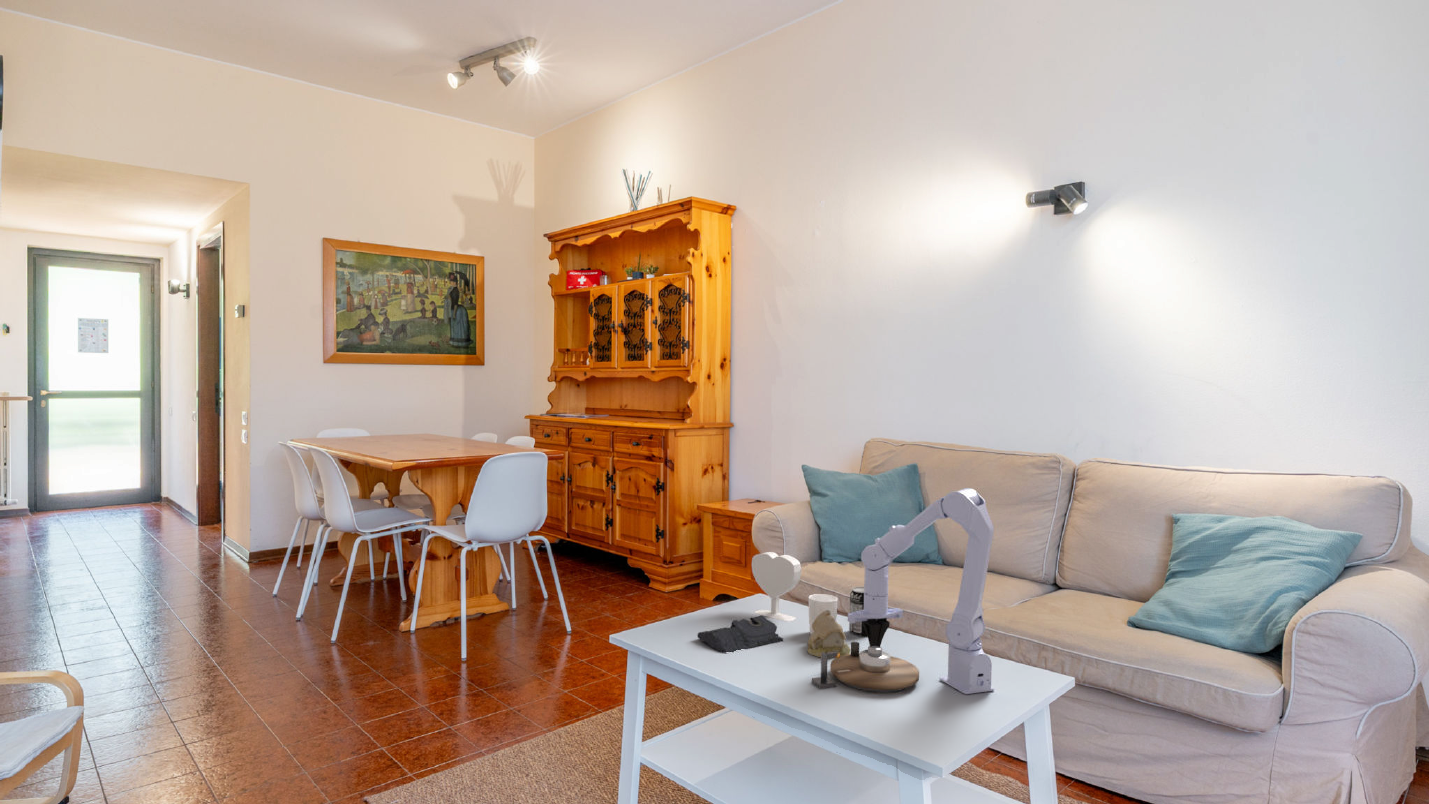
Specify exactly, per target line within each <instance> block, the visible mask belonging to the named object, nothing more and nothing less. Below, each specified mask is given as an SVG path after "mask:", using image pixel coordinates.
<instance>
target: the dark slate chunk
mask: <svg viewBox="0 0 1429 804" xmlns="http://www.w3.org/2000/svg"><path fill="white" fill-rule="evenodd" d="M749 618H750V620H748V619H746V618H742V619H739V620H738V619H735V620H732V621H731V625H730V627H727V626H726V627H720V628H716V629H712V630H705V631H698V633H697V638H698V639H699V640H701V641H702V642H703V643H704V642H705V644H708V645H709V646H710V647H711V648H713V649H715V650H716V649H717V650H718V651H717V650H716V651H717V652H720V653H723V652H732V653H735V652H734V651H736V650H741V649H745V650H750V649H754V648H759V647H762V646H763V647H764V646H768V645H773V644H777V643H781V642H782V643H783V642H784V638H783V637H781V636H779V633H777V629H778V626H777V625H776V624H775V623H774V622H773V621H770V620H769V619H768V618H766V616H763V615H757V616H754V617H749ZM741 651H742V650H741ZM736 652H737V651H736Z"/></svg>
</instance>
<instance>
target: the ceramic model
mask: <svg viewBox="0 0 1429 804" xmlns="http://www.w3.org/2000/svg"><path fill="white" fill-rule="evenodd" d="M812 629H813V630H814V633H813V634H812V635H810V637H809V639H808V642H807V645H808V646H807V653H808V654H810V655H812V656H815V657H818V658H821V653H829V652H837V653H839V654H840V656H843V655H847V654H851V647H850V646H849V644H847V643H846V641H845V640H846V639H847V637H846V634H845V632H844V630H843V627H842V626H841V624H839V623H838V622H837V620H836V621H835V619H834V617H832V616H831V612H830V611H829V610H826V611H823V612H822V613H821V614H820V615H818V616H817V618H816V619H815V620H814V622H813V624H812ZM831 658H832V657H828V658H827V659H831Z"/></svg>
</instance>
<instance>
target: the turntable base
mask: <svg viewBox="0 0 1429 804" xmlns="http://www.w3.org/2000/svg"><path fill="white" fill-rule="evenodd" d="M841 682H842V683H844V684H845V685H847V686H849V687H852V688H855V689H859V690H862V691H866V692H867V691H868V692H875V693H877V692H878V693H891V692H898V691H901V690H904V689H906V688H901V689H890V690H882V689H870V688H863V687H859V686H855V685H851V684H848V683H845V682H843V681H841Z"/></svg>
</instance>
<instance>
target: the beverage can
mask: <svg viewBox="0 0 1429 804" xmlns="http://www.w3.org/2000/svg"><path fill="white" fill-rule="evenodd" d="M860 610H864V586H854V587H852V588H851V592H850V594H849V613H853V612H857V611H860ZM848 623H849V624H848V625H849V626H848V628H849V629H848V630H849V632H850V633H851V634H853V635H854V636H859V637H868V636H867V633H866V630H865V628H864V626H863V624H862V622H861V621H860V622H855V623H850V622H849V621H848Z"/></svg>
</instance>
